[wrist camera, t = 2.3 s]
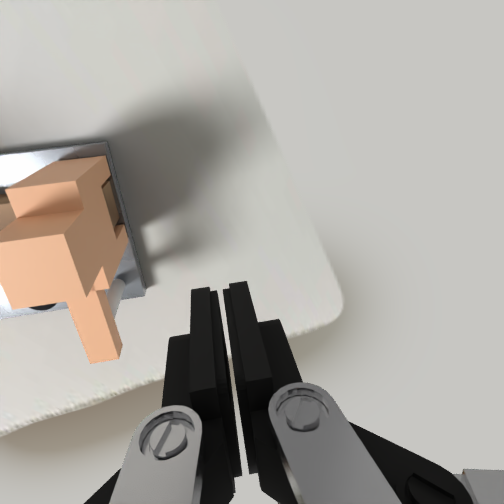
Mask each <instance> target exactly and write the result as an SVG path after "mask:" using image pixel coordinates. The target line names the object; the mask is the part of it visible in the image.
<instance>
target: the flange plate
mask: <svg viewBox="0 0 504 504" xmlns="http://www.w3.org/2000/svg"><path fill="white" fill-rule="evenodd" d="M97 156H106V159H107V163H108V167H109V170H110V174H111V175H110V177H109V178H108V179H107V180H106V181H110V185H111V189H112V192H113V196H114V199H115V203H116V207H117V210H118V214H119V220H118V222H117V223H116V225H115V226H117V225H124V226H125V229H126V233H127V237H128V244H127V246H126V249H125V251H124V254H123V256H122V259H121V261H120V264H119V266H118V269H117V271H116V274H115V276H114V279H121V280H123V281H124V283H125V288H124V291H123V294H122V297H121V300H124V299H130V298H136V297H142V296H145V292H146V286H145V283H144V279H143V275H142V271H141V268H140V264H139V260H138V256H137V252H136V249H135V245H134V241H133V237H132V234H131V230H130V226H129V222H128V218H127V215H126V211H125V207H124V203H123V199H122V196H121V192H120V188H119V184H118V181H117V177H116V173H115V169H114V165H113V162H112V158H111V154H110V150H109V147H108V143H107V141H104V142H96V143H87V144H78V145H70V146H61V147H52V148H44V149H35V150H26V151H18V152H9V153H0V194H6V191H5V189H7V188H8V187H10V186H12V185H14V184H15V183H17V182H19V181H21V180H22V179H24V178H26V177H28V176H29V175H31V174H33V173H35V172H36V171H38V170H40V169H42V168H43V167H45V166H47V165H49V164H51V163H52V162H55V161H63V160H71V159H80V158H88V157H97ZM114 279H113V280H114ZM104 290H105V293H107V290H108V289H104ZM67 308H68V305H67V303H66V301H65V302H59V303H53V304H46V305H40V306H34V307H27V308H21V309H14V310H12V307H11V305H10V303H9V301H8V299H7V297H6V295H5V293H4V291H3V289H2V287H1V284H0V319H4V318H10V317H16V316H23V315H29V314H35V313H42V312H48V311H54V310H61V309H67Z"/></svg>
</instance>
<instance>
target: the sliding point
mask: <svg viewBox="0 0 504 504" xmlns="http://www.w3.org/2000/svg"><path fill="white" fill-rule="evenodd" d="M110 175H111V174H110V170H109V167H108V163H107V159H106V156H97V157H88V158H80V159H71V160H63V161H55V162H52V163H51V164H49V165H47V166H45V167H43V168H42V169H40V170H38V171H36V172H35V173H33V174H31V175H29V176H28V177H26V178H24V179H22V180H21V181H19V182H17V183H15V184H14V185H12V186H10V187H8V188H7V189H5V191H6V194H7V196H8V199H9V201H10V203H11V206H12V208H13V211H14V213H15V216H16V219H15V220H14V221H12V222H11V223H10V224H9V225H7V226H6V227H5V228H3V229H2V230H1V231H0V284H1V287H2V289H3V291H4V293H5V295H6V297H7V299H8V301H9V303H10V305H11V307H12V310H14V309H21V308H27V307H34V306H40V305H46V304H53V303H59V302H65V301H66V303H67V305H68V308H69V311H70V313H71V316H72V318H73V321H74V323H75V326H76V328H77V331H78V334H79V336H80V339H81V341H82V344H83V346H84V349H85V352H86V354H87V357H88V359H89V362H90V364H92V363H98V362H104V361H110V360H115V359H119V357H120V353H121V349H122V342H121V339H120V336H119V333H118V330H117V327H116V323H115V320H114V319H115V315H116V312H117V309H118V306H119V303H120V300H121V297H122V294H123V291H124V288H125V283H124V281H123V280H121V279H114V276H115V274H116V271H117V269H118V266H119V264H120V261H121V259H122V256H123V254H124V251H125V249H126V246H127V244H128V237H127V233H126V229H125V226H124V225H117V226H115V227H114V229H113V225H112V222H111V219H110V215H109V212H108V208H107V205H106V201H105V198H104V194H103V191H102V187H101V186H102V184H103V183H104V182H105V181H106V180H107V179H108V178H109V177H110ZM113 279H114V280H113ZM104 289H108V290H107V293H105V290H104Z"/></svg>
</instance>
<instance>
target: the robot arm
mask: <svg viewBox="0 0 504 504" xmlns="http://www.w3.org/2000/svg"><path fill="white" fill-rule="evenodd" d="M223 295H224V303H225V310H226V317H227V325H228V332H229V340H230V347H231V354H232V361H233V369H234V376H235V384H236V390H237V397H238V404H239V410H240V417H241V423H242V429H243V436H244V443H245V449H246V455H247V462H248V468H249V474H254V473H258V476H259V482H260V487H261V490H262V491H263V492H264V493H266V494H267V495H268V496H270V497H271V498H273V499H274V500H276V501H277V502H278V504H504V470H478V469H463V472H462V474H452V473H450V472H449V471H447V470H446V469H444V468H442V467H441V466H439V465H437V464H435V463H433V462H431V461H429V460H427V459H425V458H423V457H421V456H419V455H417V454H415V453H413V452H411V451H409V450H407V449H405V448H403V447H400V446H398V445H396V444H394V443H392V442H390V441H388V440H386V439H384V438H382V437H380V436H378V435H376V434H374V433H371V432H370V431H367V430H365V429H363V428H361V427H359V426H357V425H355V424H353V423H351V422H349V421H348V420H347V419H346V418H345V416H344V415H343V413H342V411H341V410H340V408H339V407H338V405H337V404H336V402H335V401H334V399H333V398H332V397H331V396H330V394H329V393H328V392H327V391H326V390H324V389H322V388H321V387H319V386H317V385H314V384H310V383H303V381H302V379H301V376H300V373H299V371H298V368H297V365H296V363H295V360H294V357H293V354H292V351H291V349H290V346H289V343H288V341H287V338H286V335H285V332H284V330H283V327H282V324H281V322H280V320H279V319H276V320H270V321H264V322H258V321H257V318H256V314H255V310H254V306H253V303H252V299H251V295H250V292H249V288H248V284H247V281H243V282H237V283H231V284H229V289H223ZM239 476H242V469H241V460H240V452H239V444H238V436H237V427H236V420H235V411H234V402H233V394H232V386H231V377H230V369H229V363H228V356H227V349H226V343H225V337H224V331H223V324H222V318H221V312H220V305H219V299H218V293H217V290H216V291H210V287H205V288H198V289H192V290H191V317H190V334H185V335H179V336H173V337H170V338H169V343H168V352H167V362H166V371H165V380H164V389H163V399H162V408H161V409H159V410H156V411H154V412H153V413H151V414H150V415H148V416H147V417H146V418H145V419H144V420H143V421H142V422H141V423H140V424H139V425H138V427H137V428H136V430H135V432H134V434H133V436H132V439H131V442H130V445H129V448H128V451H127V453H126V456H125V459H124V462H123V465H122V468H121V469H119V470H118V471H117V472H116V473H115V474H114V475H113V476H112V477H111V478H110V479H109V480H108V481H107V482H106V483H105V484H104V485H103V486H102V487H101V488H100V489H99V490H98V491H97V492H96V493H94V495H92V496H91V497H90V498H89V499H88V500H87V501H86V502H85V503H84V504H229V502H230V501H231V500H232V498H233V496H234V495H233V493H235V482H234V477H239Z"/></svg>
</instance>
